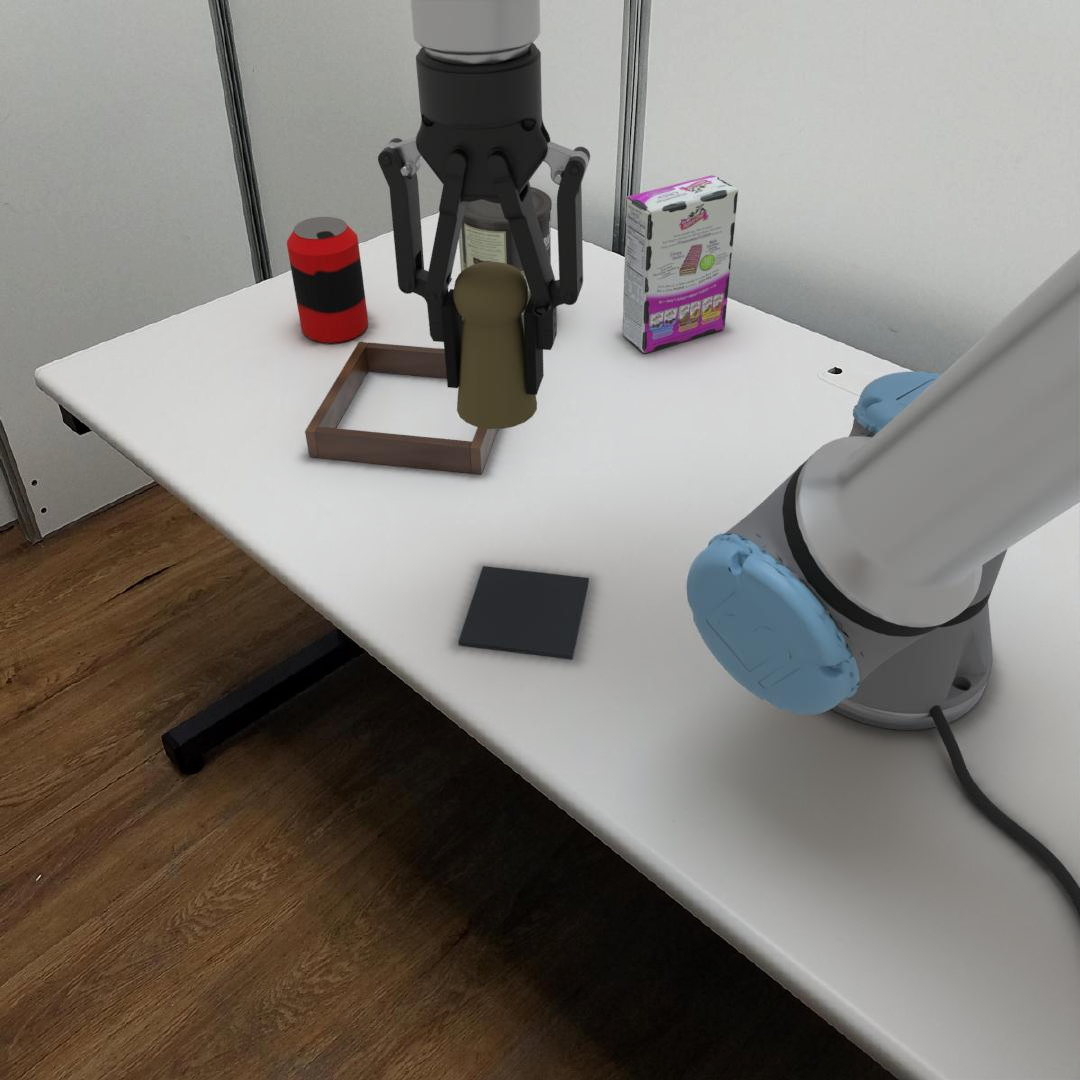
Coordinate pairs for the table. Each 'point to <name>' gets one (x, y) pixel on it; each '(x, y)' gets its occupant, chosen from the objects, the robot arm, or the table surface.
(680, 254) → the candy bar box
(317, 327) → the soda can
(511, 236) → the coffee can
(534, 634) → the mat
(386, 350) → the wooden frame
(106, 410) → the table surface
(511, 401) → the olive pawn
